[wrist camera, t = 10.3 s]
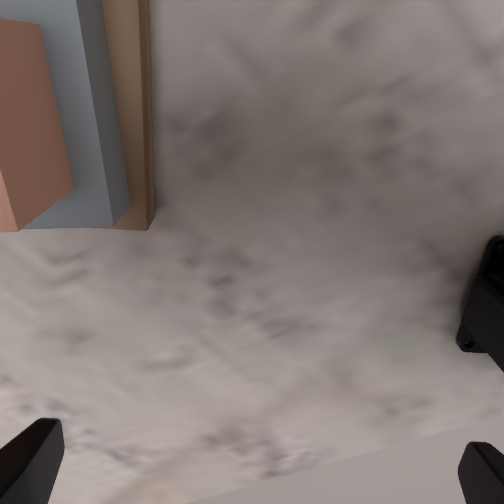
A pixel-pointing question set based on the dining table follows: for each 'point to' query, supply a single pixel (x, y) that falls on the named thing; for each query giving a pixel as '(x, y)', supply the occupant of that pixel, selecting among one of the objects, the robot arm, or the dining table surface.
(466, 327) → the robot arm
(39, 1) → the slate top block
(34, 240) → the dining table surface
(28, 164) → the terracotta block
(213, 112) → the dining table surface
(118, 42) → the walnut base block
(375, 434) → the dining table surface
